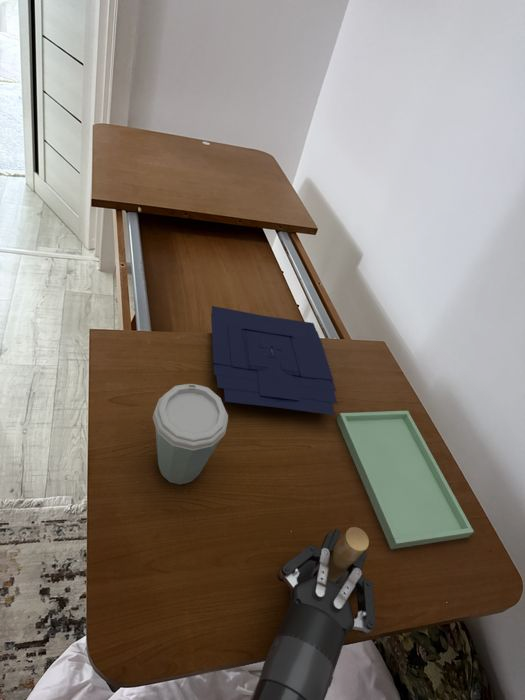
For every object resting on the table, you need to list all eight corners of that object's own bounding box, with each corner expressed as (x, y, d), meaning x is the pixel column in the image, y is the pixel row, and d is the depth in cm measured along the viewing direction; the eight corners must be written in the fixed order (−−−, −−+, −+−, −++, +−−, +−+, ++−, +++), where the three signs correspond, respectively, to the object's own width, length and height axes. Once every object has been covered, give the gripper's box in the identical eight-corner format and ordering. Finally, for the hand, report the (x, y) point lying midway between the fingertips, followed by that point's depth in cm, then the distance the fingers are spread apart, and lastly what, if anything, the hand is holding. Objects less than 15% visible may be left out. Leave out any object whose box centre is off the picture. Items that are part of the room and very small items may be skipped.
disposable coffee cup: (212, 498, 78) (235, 442, 68) (141, 497, 75) (154, 439, 65) (208, 440, 85) (227, 382, 75) (143, 438, 82) (154, 377, 72)
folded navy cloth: (211, 411, 88) (215, 396, 86) (208, 315, 112) (211, 302, 110) (339, 426, 94) (346, 412, 92) (310, 332, 118) (315, 320, 115)
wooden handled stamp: (358, 591, 74) (397, 553, 65) (295, 601, 70) (329, 562, 62) (346, 557, 77) (382, 516, 68) (286, 566, 73) (316, 524, 65)
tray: (467, 537, 86) (474, 531, 84) (390, 549, 80) (396, 543, 79) (403, 416, 103) (408, 410, 101) (335, 419, 97) (340, 412, 95)
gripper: (242, 634, 62) (296, 524, 74) (343, 703, 59) (382, 578, 72) (258, 613, 57) (313, 499, 69) (370, 687, 55) (406, 555, 67)
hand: (348, 540), depth 71 cm, fingers closed on wooden handled stamp, 3 cm apart
